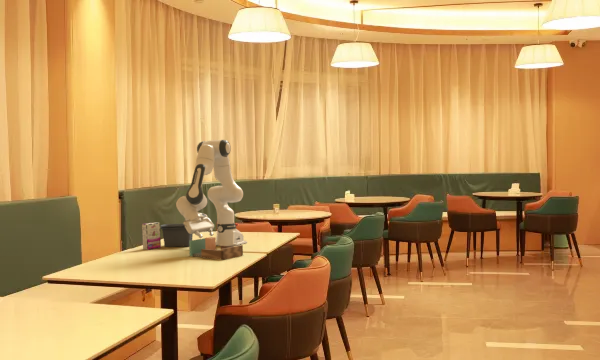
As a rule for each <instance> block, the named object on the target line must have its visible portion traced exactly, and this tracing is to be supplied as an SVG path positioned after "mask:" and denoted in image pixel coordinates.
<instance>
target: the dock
mask: <svg viewBox="0 0 600 360" xmlns="http://www.w3.org/2000/svg"><path fill="white" fill-rule="evenodd" d="M243 245H244V244H241V245H234V246H224V245H221V246H220V249H216V250H210V249H201V257H200V258H202V259H209V260H210V259H211V260H221V261H223V260H229V259H232V258H233V257H234V258H237V257H242V255H243V256H244V253H243V252H244V249H243V248H244V247H243Z"/></svg>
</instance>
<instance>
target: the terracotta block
mask: <svg viewBox="0 0 600 360" xmlns="http://www.w3.org/2000/svg"><path fill="white" fill-rule="evenodd" d="M204 238H205V248H206V249H210V250H217V249H216V247H217V245H216V236H209V237H204Z"/></svg>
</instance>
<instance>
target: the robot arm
mask: <svg viewBox="0 0 600 360" xmlns="http://www.w3.org/2000/svg"><path fill="white" fill-rule="evenodd" d="M231 149H232V148H231V144H230V142H229V140H227V139H211V140H206V141H205V140H204V141H201V142H199V143H198V144H197V146H196V152H197V155H196V159H195V166H194V171H193V175H192V179H191V183H190V186H189V188H188V190H187V191H186V193H185V195H183V196H180V197H179V198H178V199H177V200H176V203H175V205H176V209H177V211H178V212H179V213H180V215H181V216H182V217H183V218H184V221H183V222H182V224H184V225H185V228H186V230H187V231H188V233H189V234H193V235H194V234H195V236H197V237H198V238H199V239H203V238H204V235H203V234H202V233H204V232H208V233H209V234H208V235H209V237H214V232H213V229H214V228H215V224H214V222H212V220H211V218H209V217H208V215H207V214H206V213H202V212H199V211H202V210H203V209H205V208H206V207H207V205H208V200H210V202H211V203H212V204H213V205H214V208H215V209H216V210H215V211H216V216H217V223H216V229H217V231H216V236H215V237H216V246H220V247H221V245H224V246H239V245H240V244H241V245H244V244H247V243H248V241H247V240H245V239H244V235H243V233H242V232H241V231H240V230H239V229H237V227H239V225H240V224H239V223H237V222H236V223H235V211H234V210H233V209H232V208H231V207H230V206H229V203H231V204H233V203H239V202H240V201H242V199H243V197H244V191H243V189H242V188H241V186H239V185H238V184H237V183H236V182H235V180H234V177H233V174H232V168H231V163H230V157H229V156H230V153H231V152H232V151H231ZM212 171H213V175H214V176H213V177H214V178H215V179H216V180H217V181H218V182H219V183H220V184H221V185H216V186H214V185H213V186H211V187H210V188H209V189H208V190H207V197H208V198H207V197H206V195H205V194H204V192H203V187H202V185H203V182H204V177H205V176H208V175H210V174H211V173H212Z"/></svg>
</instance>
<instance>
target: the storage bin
mask: <svg viewBox="0 0 600 360" xmlns="http://www.w3.org/2000/svg"><path fill="white" fill-rule="evenodd" d="M160 230H162V236H163V243H164V245H163V246H164V247H166V248H170V247H171V248H172V247H173V248H174V247H175V248H177V247H189V241H192V240H193V237H194V236H193V235H194V234H189V233H188V231H187V230H186V228H185V225H184V224H183V223H166V224H160Z"/></svg>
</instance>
